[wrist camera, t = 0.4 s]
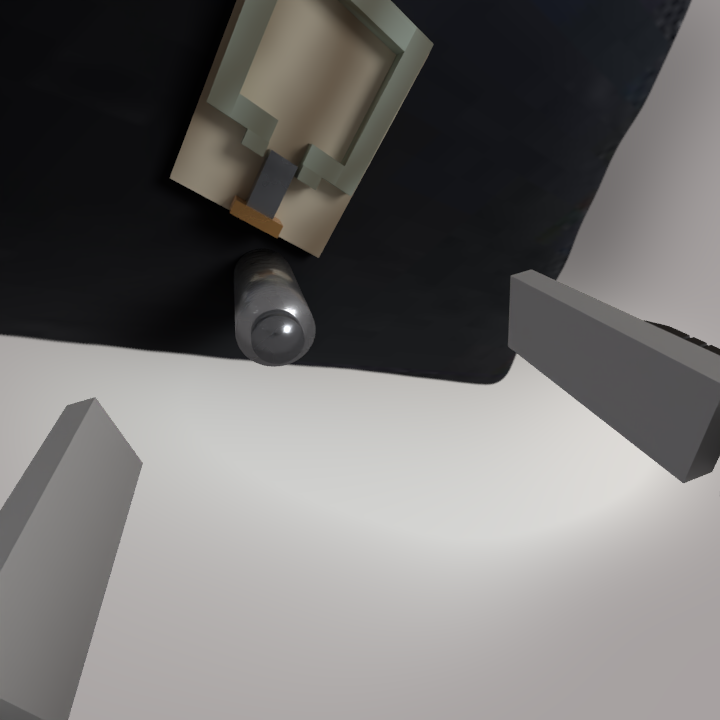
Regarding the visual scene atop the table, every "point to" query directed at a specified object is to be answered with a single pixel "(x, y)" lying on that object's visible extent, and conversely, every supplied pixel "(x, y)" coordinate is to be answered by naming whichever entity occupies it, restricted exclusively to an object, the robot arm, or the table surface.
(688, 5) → the table surface
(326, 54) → the dock mount
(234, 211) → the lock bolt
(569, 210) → the table surface
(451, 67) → the table surface
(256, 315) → the metal bottle
